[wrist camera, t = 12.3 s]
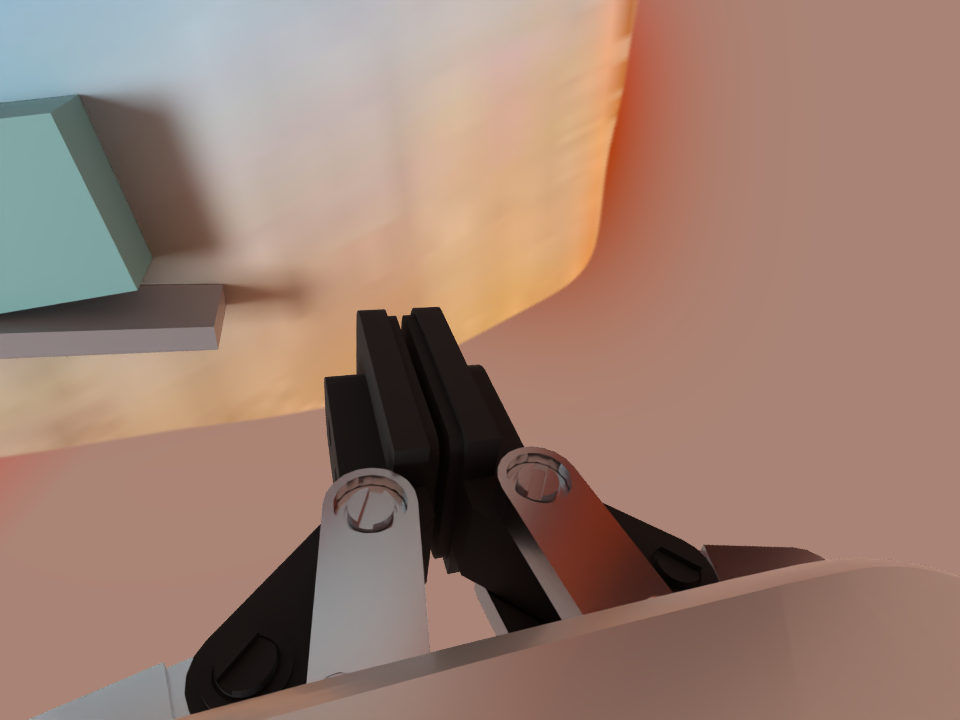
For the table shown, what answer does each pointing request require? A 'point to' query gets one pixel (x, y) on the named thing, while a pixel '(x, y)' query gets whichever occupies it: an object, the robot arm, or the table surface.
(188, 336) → the box
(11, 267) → the teal square block
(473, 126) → the table surface
